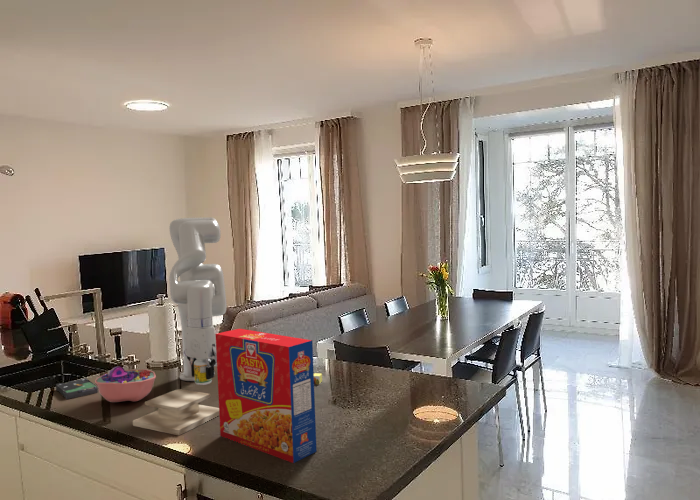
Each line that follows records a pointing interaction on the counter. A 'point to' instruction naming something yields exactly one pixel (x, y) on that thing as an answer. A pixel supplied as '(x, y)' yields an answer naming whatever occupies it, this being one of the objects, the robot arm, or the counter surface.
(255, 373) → the pasta box
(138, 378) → the cell model
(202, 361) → the supplement bottle
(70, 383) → the disk drive
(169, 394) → the stand
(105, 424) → the counter surface
